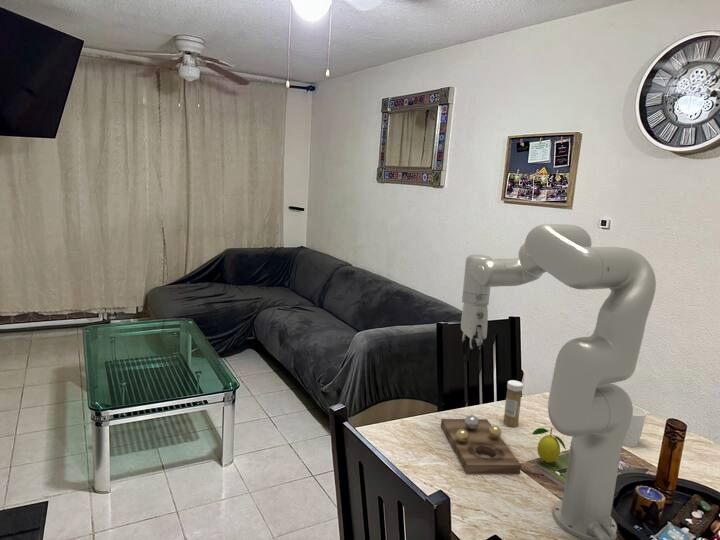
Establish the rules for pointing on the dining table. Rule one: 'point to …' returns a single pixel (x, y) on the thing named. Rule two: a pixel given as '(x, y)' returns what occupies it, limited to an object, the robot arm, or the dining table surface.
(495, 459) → the plate
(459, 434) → the brass ball
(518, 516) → the dining table surface
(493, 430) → the brass ball
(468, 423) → the steel ball
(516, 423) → the sprinkles bottle
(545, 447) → the lemon
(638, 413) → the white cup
